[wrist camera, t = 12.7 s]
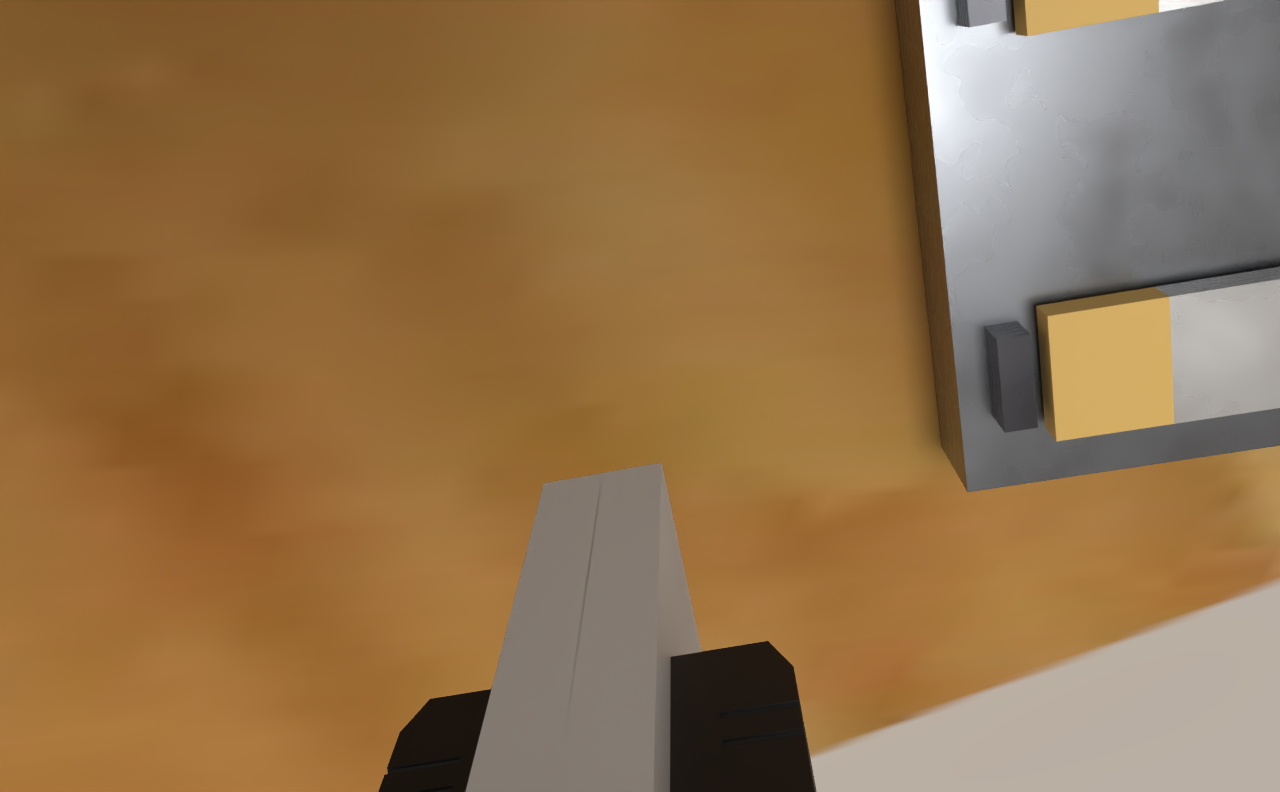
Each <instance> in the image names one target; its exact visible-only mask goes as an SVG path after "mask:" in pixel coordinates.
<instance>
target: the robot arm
mask: <svg viewBox="0 0 1280 792" xmlns="http://www.w3.org/2000/svg"><path fill="white" fill-rule="evenodd" d="M387 769H388V774H387V775H384V778H383V781H382V784H381V786H380V789H379V792H816V787H815V782H814V776H813V770H812V765H811V759H810V754H809V749H808V743H807V738H806V732H805V727H804V721H803V716H802V711H801V705H800V700H799V694H798V689H797V683H796V678H795V673H794V667H793V666H792V665H791V664H790V663H789V662H788V661H787V660H786V659H785V658H784V657H783V656H782V655H781V654H780V653H779V652H778V651H777V650H776V649H775V648H774V647H773V646H772V645H771V644H770V643H769V642H768V641H765V642H759V643H753V644H747V645H741V646H734V647H728V648H722V649H716V650H710V651H703V652H702V651H701V646H700V641H699V636H698V632H697V627H696V622H695V618H694V613H693V608H692V604H691V599H690V594H689V590H688V585H687V580H686V575H685V571H684V566H683V561H682V557H681V552H680V547H679V543H678V538H677V533H676V529H675V524H674V519H673V514H672V510H671V505H670V500H669V496H668V491H667V486H666V482H665V477H664V472H663V468H662V463H657V464H652V465H646V466H640V467H635V468H629V469H623V470H618V471H612V472H606V473H601V474H595V475H589V476H584V477H578V478H572V479H567V480H561V481H555V482H550V483H544V485H543V489H542V493H541V497H540V500H539V504H538V508H537V512H536V516H535V520H534V524H533V528H532V532H531V536H530V540H529V544H528V548H527V552H526V556H525V559H524V563H523V567H522V571H521V575H520V579H519V583H518V587H517V591H516V595H515V599H514V603H513V607H512V611H511V615H510V618H509V622H508V626H507V630H506V634H505V638H504V642H503V646H502V650H501V654H500V658H499V662H498V666H497V670H496V674H495V677H494V681H493V685H492V689H490V690H483V691H477V692H471V693H465V694H459V695H452V696H446V697H440V698H434V699H430V700H429V701H428V702H427V703H426V704H425V705H424V706H423V708H422V709H421V710H420V711H419V712H418V713H417V714H416V715H415V716H414V718H413V719H412V720H411V721H410V722H409V723H408V724H407V725H406V726H405V727H404V729H403V730H402V731H401V732H400V734H399V736H398V739H397V742H396V745H395V748H394V750H393V753H392V756H391V759H390V761H389V764H388V767H387Z"/></svg>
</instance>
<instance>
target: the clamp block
mask: <svg viewBox="0 0 1280 792" xmlns="http://www.w3.org/2000/svg"><path fill="white" fill-rule="evenodd" d="M895 8H896V17H897V27H898V36H899V46H900V55H901V65H902V74H903V84H904V93H905V103H906V112H907V122H908V131H909V141H910V150H911V160H912V169H913V179H914V188H915V198H916V207H917V217H918V226H919V236H920V245H921V255H922V264H923V274H924V283H925V293H926V302H927V312H928V321H929V331H930V340H931V350H932V359H933V369H934V378H935V388H936V397H937V407H938V416H939V426H940V435H941V445H942V448H943V450H944V452H945V453H946V455H947V457H948V459H949V460H950V462H951V464H952V466H953V467H954V469H955V471H956V473H957V474H958V476H959V478H960V480H961V481H962V483H963V485H964V487H965V488H966V490H967V492H972V491H979V490H985V489H992V488H999V487H1006V486H1012V485H1019V484H1026V483H1032V482H1039V481H1046V480H1052V479H1059V478H1066V477H1072V476H1079V475H1086V474H1092V473H1099V472H1106V471H1112V470H1119V469H1126V468H1132V467H1139V466H1146V465H1152V464H1159V463H1166V462H1172V461H1179V460H1186V459H1192V458H1199V457H1206V456H1212V455H1219V454H1226V453H1232V452H1239V451H1246V450H1252V449H1259V448H1266V447H1272V446H1279V445H1280V408H1276V409H1270V410H1263V411H1256V412H1250V413H1243V414H1236V415H1230V416H1223V417H1216V418H1210V419H1203V420H1196V421H1190V422H1183V423H1176V424H1170V425H1163V426H1156V427H1150V428H1143V429H1136V430H1130V431H1123V432H1116V433H1110V434H1103V435H1096V436H1090V437H1083V438H1077V439H1070V440H1063V441H1056V440H1055V439H1054V438H1053V437H1052V435H1051V434H1050V433H1049V432H1048V430H1047V429H1046V428H1045V418H1044V405H1043V392H1042V378H1041V365H1040V351H1039V338H1038V325H1037V311H1036V306H1038V305H1045V304H1051V303H1057V302H1063V301H1069V300H1076V299H1082V298H1088V297H1094V296H1101V295H1107V294H1113V293H1119V292H1125V291H1132V290H1138V289H1144V288H1150V287H1156V286H1163V285H1169V284H1175V283H1181V282H1188V281H1194V280H1200V279H1206V278H1212V277H1219V276H1225V275H1231V274H1237V273H1244V272H1250V271H1256V270H1262V269H1268V268H1275V267H1280V0H1225V1H1219V2H1214V3H1208V4H1203V5H1197V6H1192V7H1186V8H1181V9H1175V10H1170V11H1164V12H1159V13H1153V14H1148V15H1142V16H1137V17H1131V18H1126V19H1120V20H1115V21H1109V22H1104V23H1098V24H1093V25H1087V26H1082V27H1076V28H1071V29H1065V30H1060V31H1054V32H1048V33H1043V34H1037V35H1032V36H1022V35H1016V30H1015V16H1014V3H1013V0H895Z"/></svg>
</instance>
